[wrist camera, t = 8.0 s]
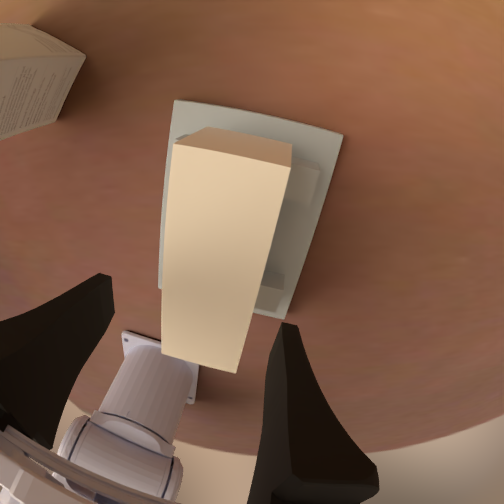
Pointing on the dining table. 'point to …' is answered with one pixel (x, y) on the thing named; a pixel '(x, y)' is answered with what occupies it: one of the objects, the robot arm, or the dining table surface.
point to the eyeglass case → (218, 241)
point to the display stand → (295, 197)
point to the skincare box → (33, 77)
